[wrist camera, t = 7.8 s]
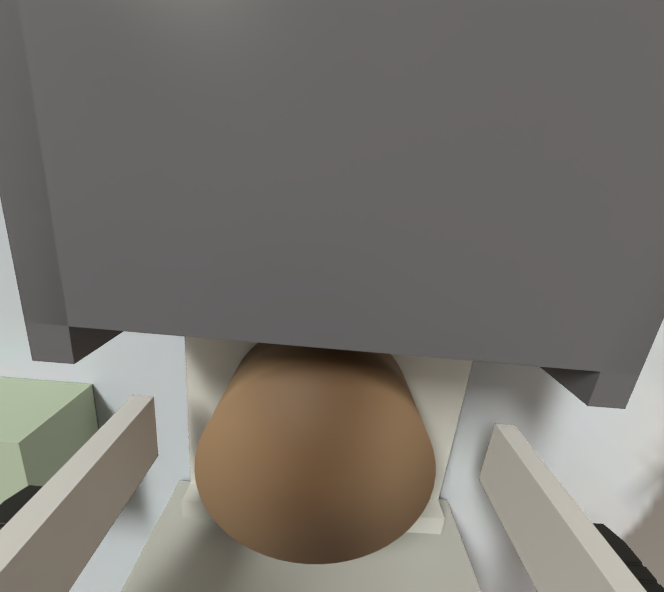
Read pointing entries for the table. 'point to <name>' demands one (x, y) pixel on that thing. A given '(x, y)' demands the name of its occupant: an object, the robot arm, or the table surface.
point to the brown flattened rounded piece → (315, 454)
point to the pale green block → (41, 429)
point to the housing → (341, 177)
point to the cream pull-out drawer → (295, 578)
